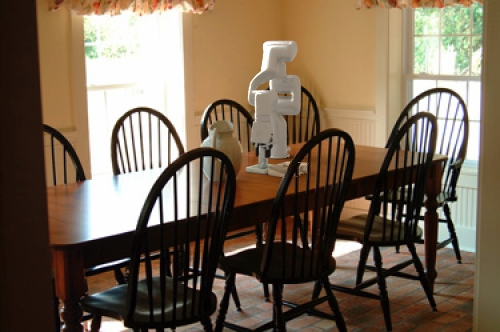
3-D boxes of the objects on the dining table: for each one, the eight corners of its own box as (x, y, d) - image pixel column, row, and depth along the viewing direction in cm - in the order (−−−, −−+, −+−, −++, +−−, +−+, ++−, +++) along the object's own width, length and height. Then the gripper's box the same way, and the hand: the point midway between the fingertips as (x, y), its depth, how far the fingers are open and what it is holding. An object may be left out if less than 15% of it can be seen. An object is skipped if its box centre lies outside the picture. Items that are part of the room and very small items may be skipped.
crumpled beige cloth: (287, 169, 354) (287, 161, 353) (309, 172, 346) (309, 164, 346) (268, 175, 341) (268, 166, 340) (290, 178, 334) (290, 169, 333)
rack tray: (261, 167, 360) (261, 163, 359) (280, 169, 353) (280, 165, 353) (245, 171, 349) (245, 167, 349) (264, 174, 343) (264, 170, 342)
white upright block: (262, 168, 354) (262, 145, 352) (269, 169, 352) (270, 146, 350) (256, 169, 351) (256, 146, 349) (264, 170, 348) (264, 147, 346)
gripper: (243, 118, 349) (243, 156, 352) (273, 120, 339) (273, 160, 342) (253, 116, 354) (253, 154, 358) (282, 119, 344) (282, 157, 348)
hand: (263, 156), depth 350 cm, fingers open, 5 cm apart
